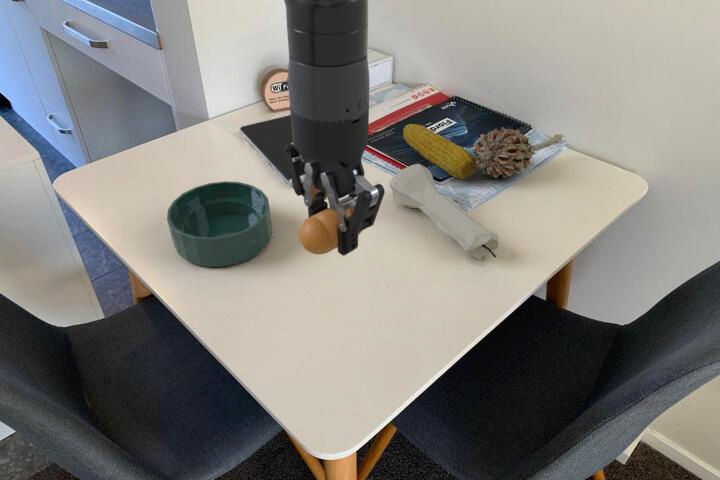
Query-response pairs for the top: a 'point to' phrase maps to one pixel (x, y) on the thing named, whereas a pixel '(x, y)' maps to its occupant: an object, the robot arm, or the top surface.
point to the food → (440, 151)
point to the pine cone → (506, 152)
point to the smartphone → (272, 142)
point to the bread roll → (320, 232)
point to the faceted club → (442, 210)
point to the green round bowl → (220, 223)
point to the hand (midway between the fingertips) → (333, 240)
